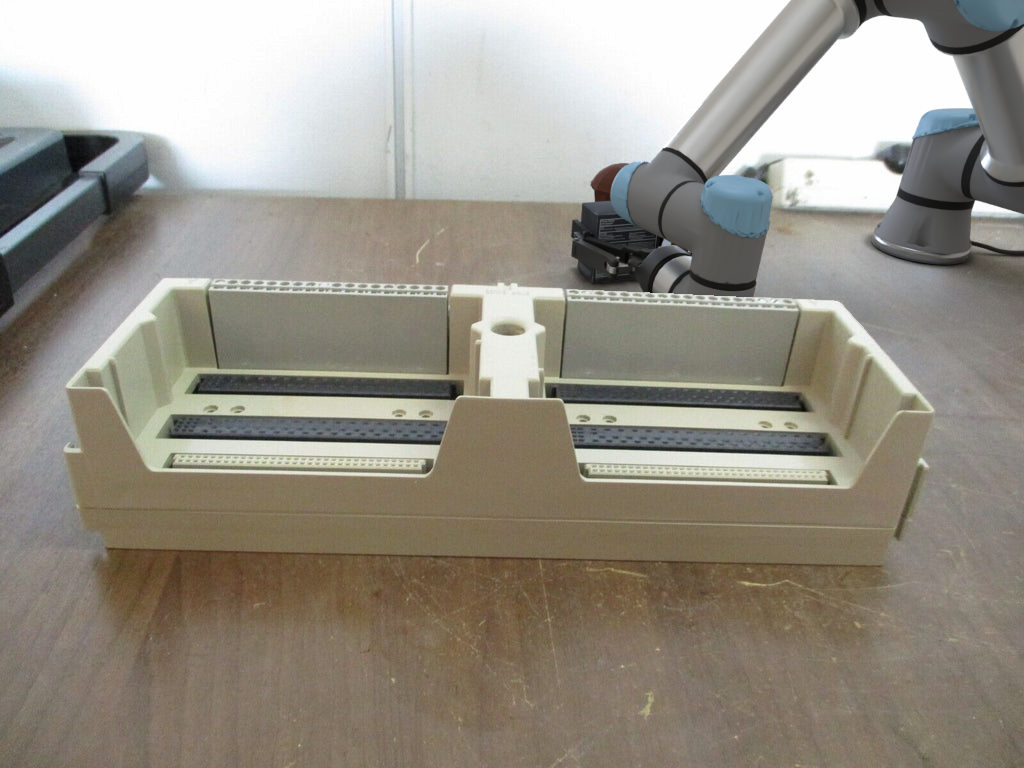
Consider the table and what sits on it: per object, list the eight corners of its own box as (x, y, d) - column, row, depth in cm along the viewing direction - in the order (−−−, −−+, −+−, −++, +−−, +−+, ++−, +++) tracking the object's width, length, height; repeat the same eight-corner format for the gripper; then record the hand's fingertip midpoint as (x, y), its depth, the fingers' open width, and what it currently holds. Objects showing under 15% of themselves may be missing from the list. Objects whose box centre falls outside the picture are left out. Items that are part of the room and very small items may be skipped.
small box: (637, 262, 120) (646, 196, 115) (656, 278, 115) (666, 209, 109) (575, 267, 117) (580, 200, 112) (591, 284, 112) (598, 214, 106)
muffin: (625, 208, 145) (631, 154, 139) (664, 226, 137) (672, 170, 131) (574, 216, 139) (578, 161, 134) (611, 235, 131) (618, 177, 126)
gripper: (591, 317, 97) (535, 254, 115) (749, 300, 103) (672, 244, 121) (596, 261, 93) (538, 205, 111) (760, 248, 99) (679, 197, 117)
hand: (608, 225), depth 116 cm, fingers closed on small box, 10 cm apart
